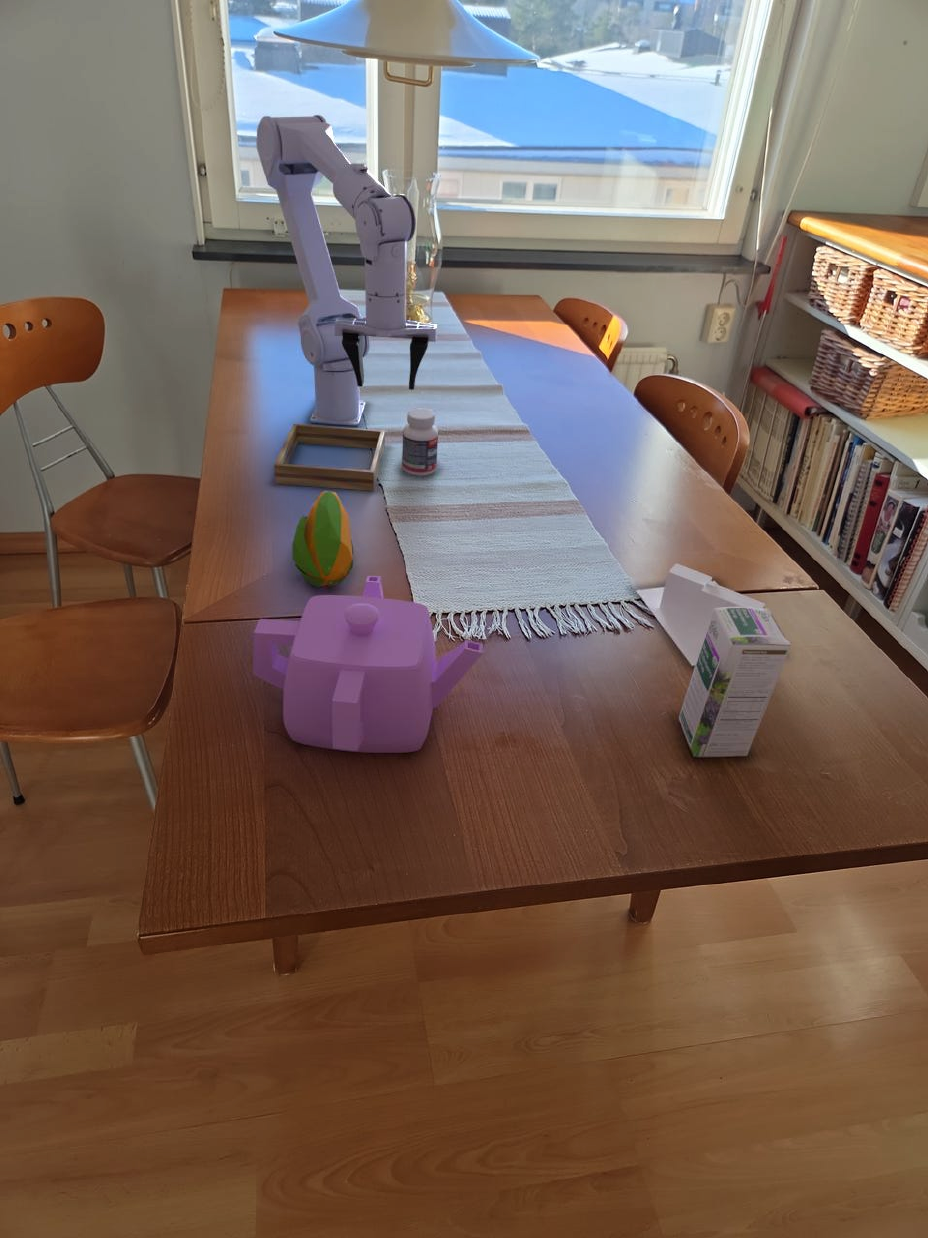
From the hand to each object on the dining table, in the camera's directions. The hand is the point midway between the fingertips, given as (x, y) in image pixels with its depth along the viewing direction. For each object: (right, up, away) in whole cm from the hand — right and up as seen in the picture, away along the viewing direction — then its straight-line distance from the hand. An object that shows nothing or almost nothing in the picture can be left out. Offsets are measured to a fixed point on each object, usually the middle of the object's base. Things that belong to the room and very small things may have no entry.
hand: (386, 385), depth 126 cm
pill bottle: (+5, -12, +2) cm, 13 cm away
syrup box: (+37, -47, -41) cm, 72 cm away
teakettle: (+2, -44, -40) cm, 60 cm away
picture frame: (-8, -12, +1) cm, 14 cm away
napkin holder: (+40, -35, -25) cm, 59 cm away
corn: (-6, -27, -19) cm, 34 cm away
